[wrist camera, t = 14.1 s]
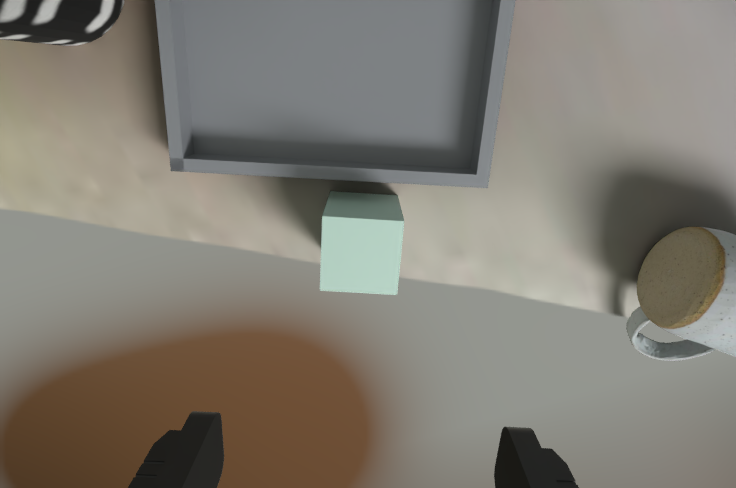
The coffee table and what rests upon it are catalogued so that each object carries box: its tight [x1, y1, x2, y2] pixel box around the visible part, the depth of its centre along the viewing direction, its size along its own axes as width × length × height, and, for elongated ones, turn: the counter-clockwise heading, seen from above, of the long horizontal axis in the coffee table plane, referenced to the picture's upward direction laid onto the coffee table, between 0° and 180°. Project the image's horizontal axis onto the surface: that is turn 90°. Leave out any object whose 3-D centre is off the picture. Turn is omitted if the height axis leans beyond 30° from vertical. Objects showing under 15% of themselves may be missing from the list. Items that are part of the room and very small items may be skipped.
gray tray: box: [155, 0, 515, 188], centre depth 27 cm, size 20×13×2 cm, turn 87°
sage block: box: [320, 191, 404, 295], centre depth 29 cm, size 5×5×6 cm
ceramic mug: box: [627, 227, 736, 361], centre depth 30 cm, size 11×8×8 cm
